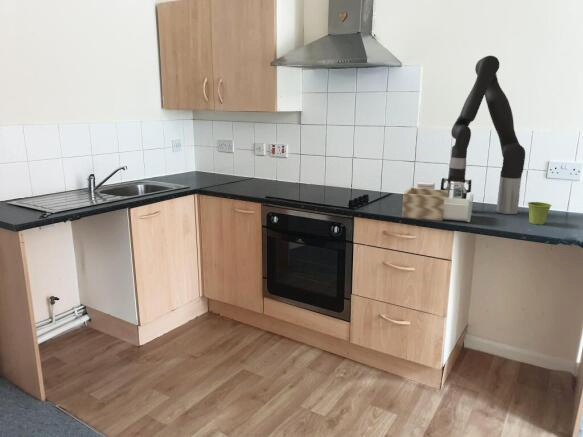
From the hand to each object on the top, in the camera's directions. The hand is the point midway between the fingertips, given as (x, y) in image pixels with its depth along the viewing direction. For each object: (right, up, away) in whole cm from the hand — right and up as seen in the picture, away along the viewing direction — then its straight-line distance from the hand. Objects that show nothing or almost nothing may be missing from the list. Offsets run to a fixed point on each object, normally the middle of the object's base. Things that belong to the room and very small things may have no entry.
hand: (454, 199), depth 234 cm
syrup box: (0, -5, +1) cm, 5 cm away
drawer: (-7, -8, -14) cm, 18 cm away
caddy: (-18, -8, -10) cm, 21 cm away
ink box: (-12, -2, +12) cm, 17 cm away
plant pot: (+29, -11, -23) cm, 38 cm away
